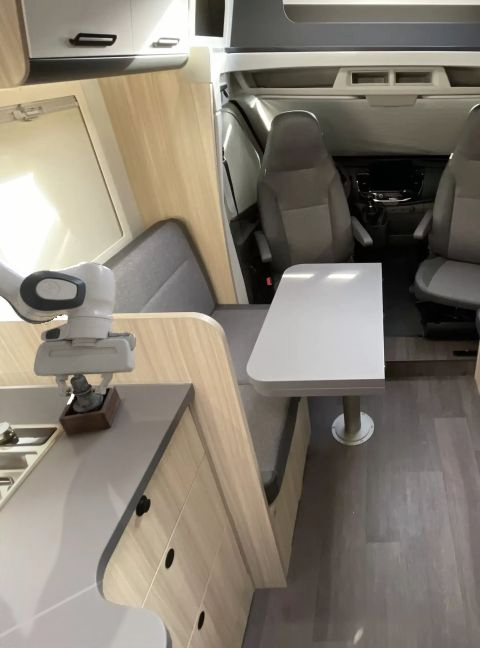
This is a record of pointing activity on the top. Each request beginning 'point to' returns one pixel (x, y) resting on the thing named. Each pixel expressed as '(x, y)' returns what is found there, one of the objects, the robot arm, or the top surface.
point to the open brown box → (91, 414)
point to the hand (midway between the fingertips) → (82, 395)
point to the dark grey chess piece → (85, 395)
